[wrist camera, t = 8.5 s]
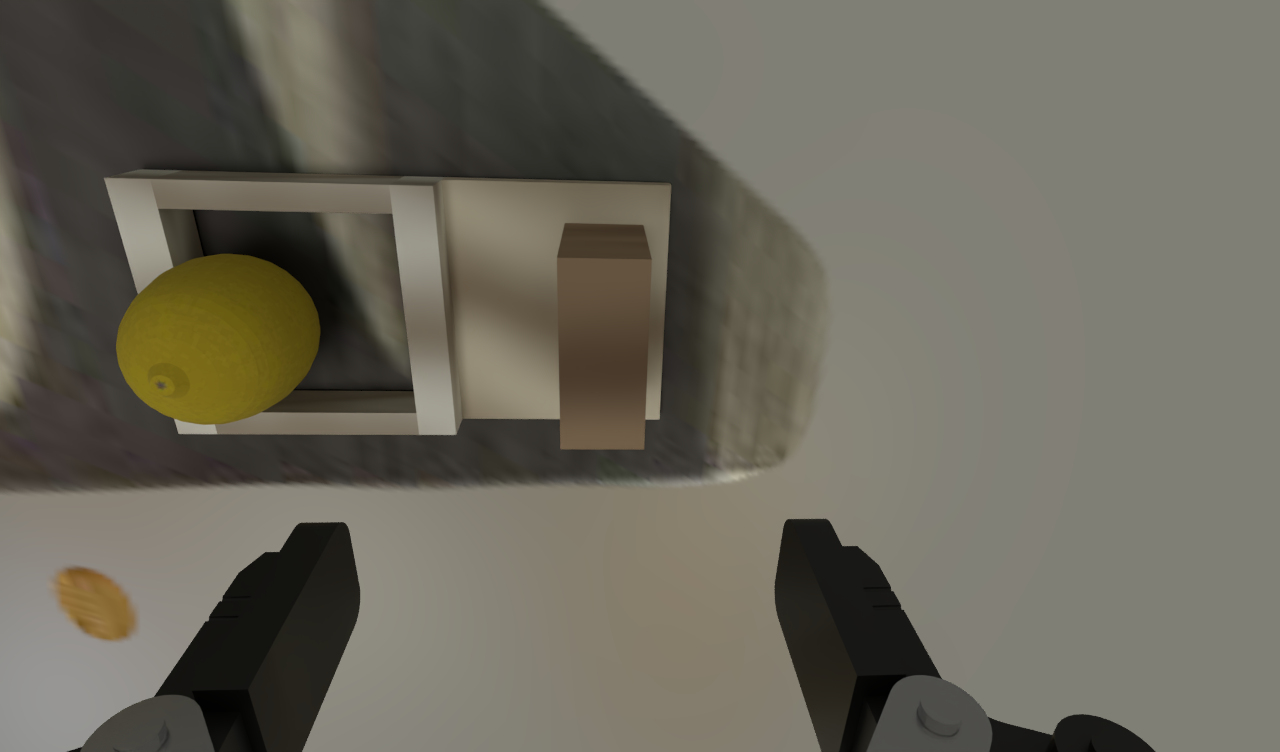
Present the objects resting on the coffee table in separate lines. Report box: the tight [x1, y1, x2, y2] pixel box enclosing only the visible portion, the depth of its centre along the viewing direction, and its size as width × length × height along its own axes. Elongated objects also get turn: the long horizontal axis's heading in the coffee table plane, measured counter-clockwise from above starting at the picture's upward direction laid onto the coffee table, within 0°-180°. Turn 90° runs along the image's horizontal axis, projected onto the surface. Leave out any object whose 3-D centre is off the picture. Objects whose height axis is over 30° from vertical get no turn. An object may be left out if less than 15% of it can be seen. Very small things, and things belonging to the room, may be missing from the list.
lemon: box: [116, 254, 320, 425], centre depth 24 cm, size 6×6×8 cm
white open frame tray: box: [104, 169, 671, 449], centre depth 25 cm, size 10×20×6 cm, turn 88°
